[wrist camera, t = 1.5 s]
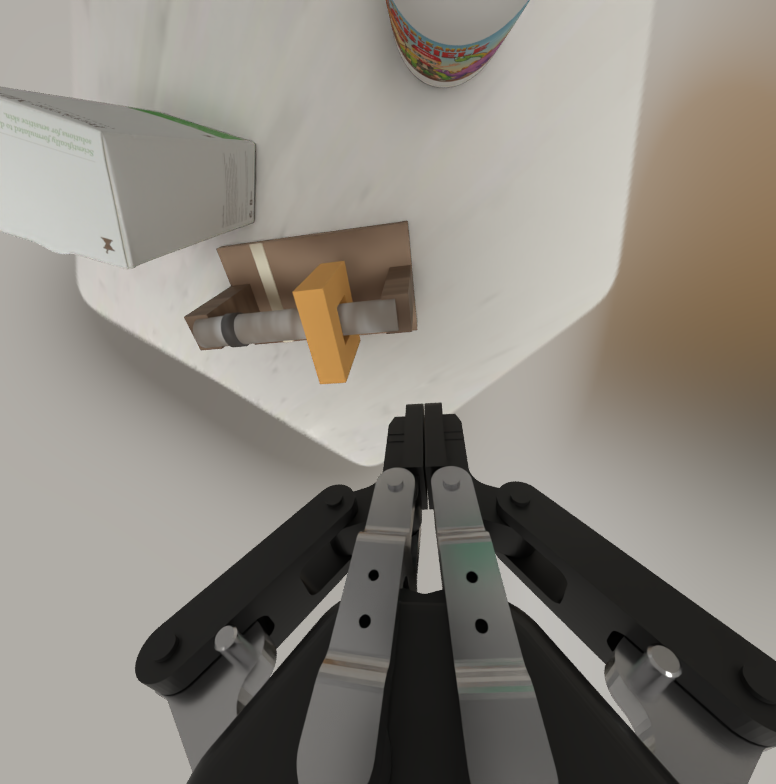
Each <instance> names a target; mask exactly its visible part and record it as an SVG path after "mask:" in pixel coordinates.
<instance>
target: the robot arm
mask: <svg viewBox="0 0 776 784" xmlns="http://www.w3.org/2000/svg"><path fill="white" fill-rule="evenodd" d="M427 490H428V497H427ZM428 499H429V509H434V519H435V530H436V538H437V547H438V555H439V563H440V572H441V580H442V590H439V591H435V592H432V593H428V594H421V593H418V592H417V573H418V561H419V549H420V548H419V547H420V537H421V523H422V510H424V509H428V503H427V502H428ZM495 554H496V555H497V556H498V558H499V559H500V560H501V561H502V562H503V563H504V564H505V565H506V566H507V567H508V568H509V569H510V570H511V571H512V572H513V573H514V574H515V575H516V576H517V577H518V578H519V579H520V580H521V581H522V582H523V583H524V584H525V585H526V586H527V587H528V588H529V589H530V590H531V591H532V592H533V593H534V594H535V595H536V596H537V597H538V598H539V599H540V600H541V601H542V602H543V603H544V604H545V605H546V606H547V607H548V608H549V609H550V610H551V611H553V613H554V614H555V615H556V616H557V617H558V618H560V619H561V621H563V622H564V623H565V624H566V625H567V626H568V627H569V628H570V629H571V630H572V631H573V632H574V633H575V634H576V635H577V636H578V637H579V638H580V639H581V640H582V641H583V642H584V643H585V644H586V645H587V646H588V647H589V648H590V649H591V650H592V651H593V652H594V653H595V654H596V655H597V656H598V657H599V658H600V659H601V660H602V661H603V662H604V663H605V664H606V665H605V670H604V674H605V680H606V684H607V687H608V690H609V692H610V694H611V696H612V697H613V699H614V700H615V702H616V703H617V704H618V706H619V707H620V708H621V710H622V711H623V712H624V713H625V715H626V716H627V718H628V719H629V721H630V723H631V725H632V727H633V728H634V731H635V733H634V732H633V731H632V730H631V728H630V727H629V726H628V725H627V724H626V723H625V722H624V720H623V719H622V718H621V717H620V716H619V715H618V714H617V713H616V712H615V711H614V709H613V708H612V707H611V706H610V705H609V704H608V703H607V702H606V700H605V699H604V698H603V697H602V696H601V695H600V694H599V692H598V691H596V689H595V688H594V687H593V686H592V685H591V684H590V683H589V681H588V680H587V679H586V678H585V677H584V676H583V675H582V673H581V672H580V671H579V670H578V669H577V668H576V667H575V666H574V664H573V663H572V662H571V661H570V660H569V659H568V658H567V657H566V656H565V654H564V653H563V652H562V651H561V650H560V649H559V648H558V647H557V645H556V644H555V643H554V642H553V641H552V640H551V639H550V638H549V636H548V635H547V634H546V633H545V632H544V631H543V630H542V629H541V628H540V626H539V625H538V624H537V623H536V622H535V621H534V620H533V619H532V618H530V617H529V616H528V615H527V614H526V613H525V612H523V611H522V610H520V609H519V608H518V607H516V606H514V605H513V604H511V603H509V602H508V601H507V597H506V593H505V590H504V586H503V582H502V578H501V574H500V571H499V567H498V563H497V559H496V556H495ZM347 573H348V574H347ZM346 574H347V578H346V582H345V586H344V590H343V594H342V598H341V601H339V602H338V603H337V604H335V605H334V606H333V607H331V608H330V609H329V610H328V611H327V612H326V613H325V614H324V615H323V616H322V617H321V618H320V619H319V621H318V622H317V623H316V624H315V625H314V626H313V628H312V629H311V630H310V631H309V632H308V634H307V635H306V636H305V637H304V638H303V639H302V641H301V642H300V643H299V644H298V645H297V646H296V648H295V649H294V650H293V651H292V652H291V653H290V655H289V656H288V657H287V658H286V659H285V661H284V662H283V663H282V664H281V665H280V666H279V667H278V669H277V670H276V671H275V672H274V673H273V675H272V676H271V674H272V672H273V669H274V667H275V663H276V656H277V651H276V649H277V648H278V647H279V646H280V645H281V643H282V642H283V641H284V640H285V639H286V638H287V637H288V636H289V635H290V634H291V633H292V632H293V631H294V630H295V629H296V627H297V626H298V625H299V624H300V623H301V622H302V621H303V620H304V619H305V618H306V617H307V616H308V615H309V614H310V612H311V611H312V610H313V609H314V608H315V607H316V606H317V605H318V604H319V603H320V602H321V601H322V600H323V599H324V597H326V595H327V594H328V593H329V592H330V591H331V590H332V589H333V588H334V587H335V586H336V585H337V584H338V583H339V582H340V580H341V579H342V578H343V577H344V576H345V575H346ZM135 673H136V676H137V678H138V680H139V681H140V682H141V683H143V684H145V685H147V686H148V687H150V688H152V689H153V690H155V692H156V693H157V694H158V695H159V696H161V697H163V698H164V699H166V700H167V701H168V703H169V706H170V709H171V712H172V715H173V717H174V720H175V723H176V726H177V729H178V731H179V734H180V738H181V740H182V743H183V746H184V749H185V752H186V755H187V758H188V760H189V763H190V766H191V769H192V772H193V773H192V774H191V777H190V778H189V780H188V782H187V784H748V782H749V780H750V778H751V775H752V773H753V771H754V769H755V767H756V764H757V762H758V760H759V758H760V756H761V754H762V752H764V751H767V750H769V749H771V748H774V747H776V661H775V660H773V659H772V658H771V657H769V656H768V655H767V654H765V653H764V652H762V651H761V650H760V649H758V648H757V647H755V646H754V645H753V644H751V643H750V642H748V641H747V640H745V639H744V638H743V637H742V636H740V635H739V634H737V633H736V632H734V631H733V630H732V629H730V628H729V627H728V626H726V625H725V624H723V623H722V622H721V621H719V620H718V619H717V618H715V617H714V616H712V615H711V614H709V613H708V612H706V611H705V610H704V609H703V608H701V607H700V606H698V605H697V604H696V603H694V602H693V601H691V600H690V599H688V598H687V597H686V596H685V595H683V594H682V593H680V592H679V591H677V590H676V589H675V588H673V587H672V586H671V585H669V584H667V583H666V582H665V581H664V580H662V579H661V578H659V577H658V576H656V575H655V574H654V573H652V572H651V571H650V570H648V569H647V568H646V567H644V566H643V565H641V564H640V563H639V562H637V561H636V560H634V559H633V558H632V557H630V556H629V555H627V554H626V553H625V552H623V551H622V550H620V549H619V548H618V547H616V546H615V545H613V544H612V543H611V542H609V541H608V540H607V539H605V538H604V537H602V536H601V535H599V534H598V533H597V532H595V531H594V530H593V529H591V528H590V527H589V526H587V525H586V524H584V523H583V522H581V521H580V520H579V519H577V518H576V517H575V516H573V515H572V514H570V513H569V512H568V511H566V510H565V509H563V508H562V507H560V506H559V505H558V504H557V503H555V502H554V501H552V500H551V499H549V498H548V497H547V496H545V495H544V494H543V493H541V492H540V491H538V490H537V489H535V488H534V487H533V486H531V485H528V484H527V483H523V482H516V481H515V482H508V483H506V484H504V485H502V486H501V487H500V488H496V487H492V486H489V485H485V484H483V483H481V482H479V481H477V480H476V479H475V478H474V477H473V476H472V475H471V473H470V471H469V468H468V462H467V455H466V449H465V442H464V436H463V429H462V423H461V421H460V419H459V418H458V417H457V416H456V415H455V414H442V403H425V416H424V406H423V404H408V405H406V414H405V417H394V419H393V420H392V422H391V423H390V424H389V428H388V436H387V444H386V452H385V460H384V468H383V473H382V474H380V476H379V477H378V479H377V481H376V483H374V484H373V485H371V486H369V487H367V488H364V489H361V490H357V491H354V492H353V491H352V489H351V488H349V487H348V486H345V485H333V486H330V487H328V488H326V489H324V490H323V491H322V492H321V493H319V494H318V495H317V496H316V497H315V498H313V499H312V500H311V501H310V502H309V503H308V504H306V505H305V506H304V507H303V508H301V509H300V510H299V511H298V512H297V513H295V514H294V515H293V516H292V517H291V518H289V519H288V520H287V521H286V522H285V523H283V524H282V525H281V526H280V527H279V528H277V529H276V530H275V531H274V532H273V533H271V534H270V535H269V536H268V537H267V538H265V539H264V540H263V541H262V542H261V543H260V544H258V545H257V546H256V547H255V548H253V549H252V550H251V551H250V552H249V553H247V554H246V555H245V556H244V557H243V558H242V559H240V560H239V561H238V562H237V563H235V564H234V565H233V566H232V567H231V568H229V569H228V570H227V571H226V572H225V573H224V574H222V575H221V576H220V577H219V578H217V579H216V580H215V581H214V582H213V583H211V584H210V585H209V586H208V587H207V588H205V589H204V590H203V591H202V592H200V593H199V594H198V595H197V596H196V597H195V598H193V599H192V600H191V601H190V602H189V603H187V604H186V605H185V606H184V607H182V608H181V609H180V610H179V611H178V612H176V613H175V614H174V615H173V616H172V617H171V618H169V619H168V620H167V621H166V622H164V623H163V624H162V625H161V626H160V627H158V629H156V630H155V631H154V632H153V633H152V634H151V635H150V636H149V638H148V639H147V640H146V642H145V644H144V645H143V647H142V648H141V650H140V652H139V654H138V657H137V660H136V665H135ZM270 676H271V677H270Z"/></svg>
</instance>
